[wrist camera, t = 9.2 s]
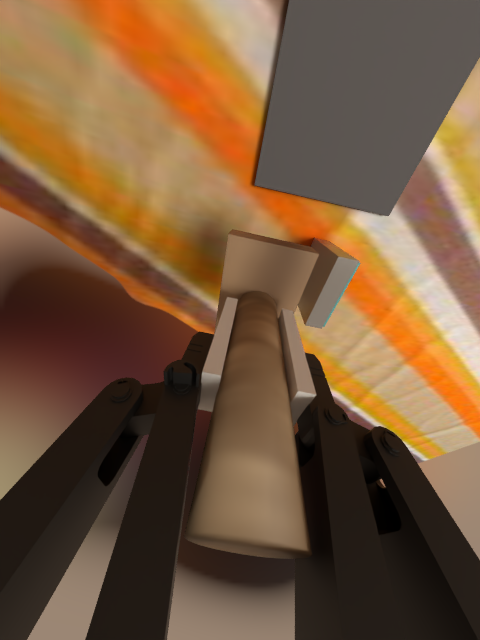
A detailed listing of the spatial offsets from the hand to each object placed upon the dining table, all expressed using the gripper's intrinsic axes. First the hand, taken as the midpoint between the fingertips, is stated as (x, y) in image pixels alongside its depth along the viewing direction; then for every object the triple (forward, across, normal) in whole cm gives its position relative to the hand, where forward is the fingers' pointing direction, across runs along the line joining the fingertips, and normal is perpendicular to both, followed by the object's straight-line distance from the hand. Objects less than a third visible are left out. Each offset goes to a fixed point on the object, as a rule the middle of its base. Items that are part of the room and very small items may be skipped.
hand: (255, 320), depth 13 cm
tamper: (+4, 0, 0) cm, 4 cm away
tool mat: (+16, +6, +15) cm, 23 cm away
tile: (+16, +8, 0) cm, 18 cm away
